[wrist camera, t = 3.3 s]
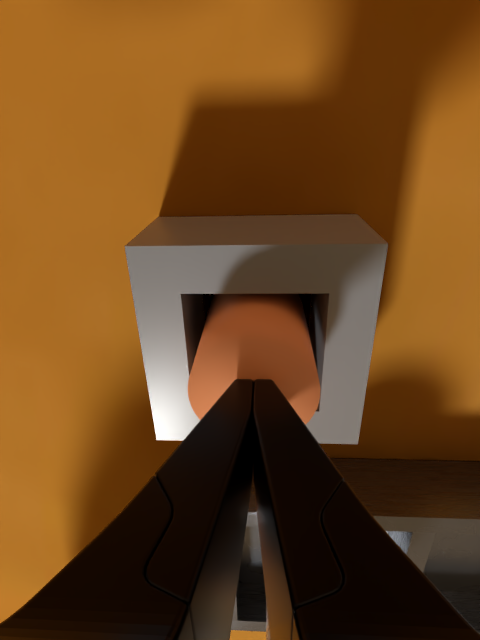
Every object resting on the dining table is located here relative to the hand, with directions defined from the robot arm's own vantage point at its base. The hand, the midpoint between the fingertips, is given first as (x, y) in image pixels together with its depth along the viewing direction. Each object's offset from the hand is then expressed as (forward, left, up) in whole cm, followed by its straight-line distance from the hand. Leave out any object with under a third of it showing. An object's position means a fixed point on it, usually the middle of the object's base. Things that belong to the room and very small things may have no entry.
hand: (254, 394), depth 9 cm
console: (0, 0, -5) cm, 5 cm away
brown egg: (0, 0, -4) cm, 4 cm away
